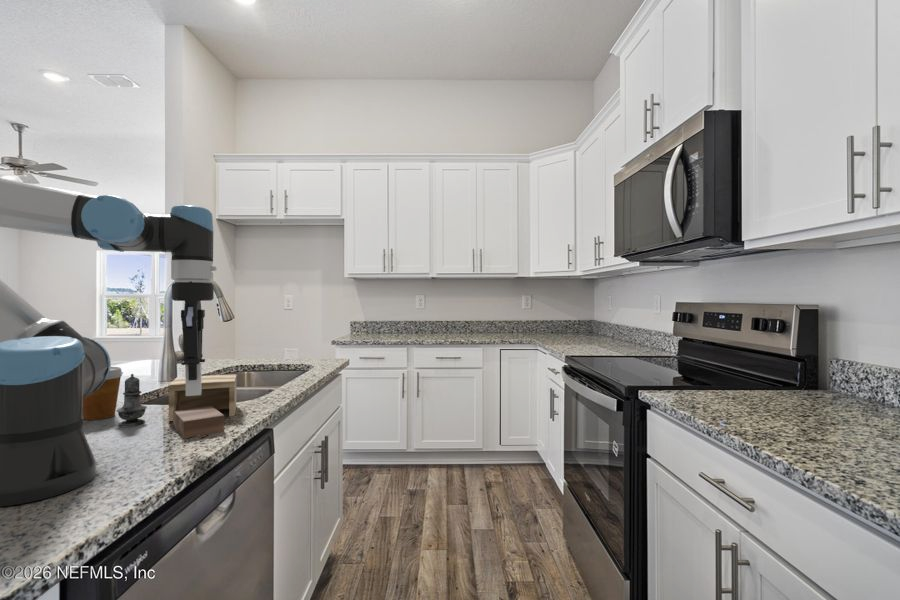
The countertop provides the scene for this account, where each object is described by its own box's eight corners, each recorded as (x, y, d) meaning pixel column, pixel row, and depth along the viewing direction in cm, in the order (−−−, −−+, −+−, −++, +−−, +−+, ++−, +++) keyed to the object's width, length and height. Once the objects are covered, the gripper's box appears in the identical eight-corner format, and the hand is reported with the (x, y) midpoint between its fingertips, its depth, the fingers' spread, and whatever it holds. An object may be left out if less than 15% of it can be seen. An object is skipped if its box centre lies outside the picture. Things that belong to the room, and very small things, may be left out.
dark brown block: (224, 432, 99) (224, 415, 99) (183, 440, 94) (183, 421, 94) (210, 421, 108) (210, 405, 108) (173, 427, 103) (173, 410, 103)
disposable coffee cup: (70, 424, 104) (71, 373, 104) (78, 414, 112) (78, 368, 112) (120, 418, 109) (120, 370, 109) (124, 410, 117) (125, 365, 117)
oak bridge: (234, 416, 112) (234, 381, 112) (168, 422, 106) (168, 385, 106) (236, 406, 122) (236, 374, 122) (176, 411, 116) (176, 377, 116)
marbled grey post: (142, 425, 103) (143, 374, 103) (112, 428, 101) (113, 376, 101) (149, 419, 109) (150, 371, 108) (121, 421, 106) (121, 372, 106)
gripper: (210, 281, 86) (211, 400, 86) (216, 283, 98) (216, 387, 98) (165, 280, 83) (166, 403, 83) (177, 282, 95) (177, 390, 95)
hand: (193, 394), depth 91 cm, fingers closed
